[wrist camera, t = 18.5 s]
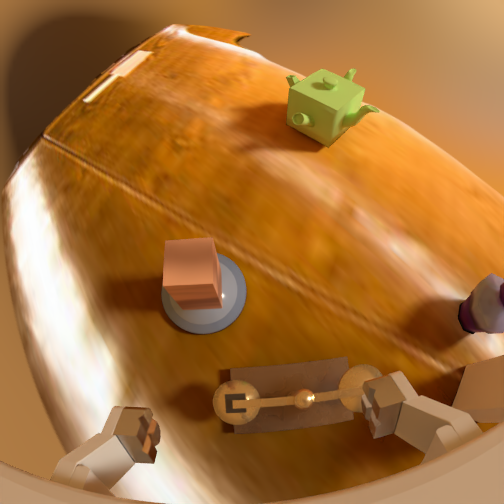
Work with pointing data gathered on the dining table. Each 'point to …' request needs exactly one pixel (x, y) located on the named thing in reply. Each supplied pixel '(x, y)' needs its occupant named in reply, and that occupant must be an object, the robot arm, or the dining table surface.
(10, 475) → the robot arm
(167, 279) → the terracotta block
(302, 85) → the kettle
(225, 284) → the gray dish
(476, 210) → the dining table surface
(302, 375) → the brass balance
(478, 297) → the potion bottle
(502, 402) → the milk carton
